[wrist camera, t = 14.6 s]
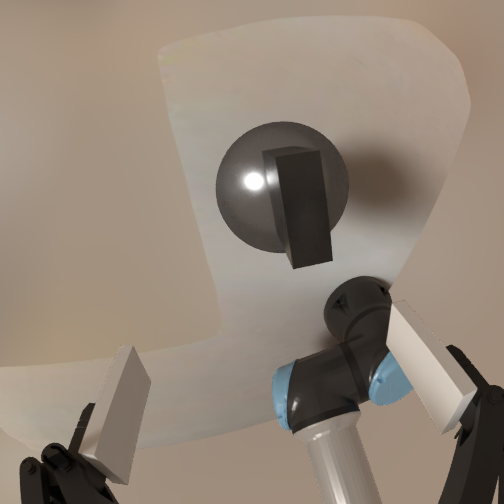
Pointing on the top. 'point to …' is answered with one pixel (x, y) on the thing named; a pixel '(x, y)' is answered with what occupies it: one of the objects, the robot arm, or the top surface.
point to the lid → (283, 191)
